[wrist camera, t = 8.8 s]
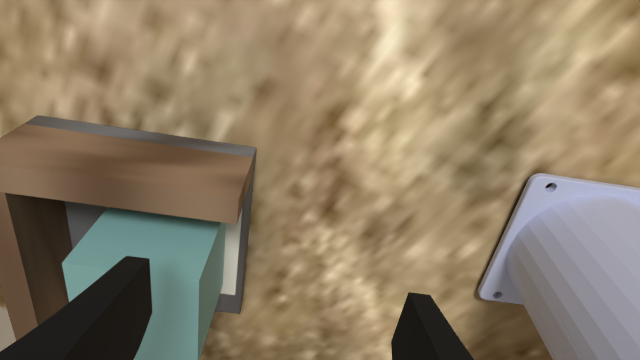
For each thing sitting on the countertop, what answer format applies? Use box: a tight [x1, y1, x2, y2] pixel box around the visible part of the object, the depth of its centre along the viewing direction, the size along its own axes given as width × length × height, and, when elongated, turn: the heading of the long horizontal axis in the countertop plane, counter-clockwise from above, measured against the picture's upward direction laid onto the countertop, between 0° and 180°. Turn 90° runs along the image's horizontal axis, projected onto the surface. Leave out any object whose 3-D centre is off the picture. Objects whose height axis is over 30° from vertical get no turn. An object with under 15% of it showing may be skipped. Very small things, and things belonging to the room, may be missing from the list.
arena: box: [0, 116, 256, 341], centre depth 20 cm, size 10×10×4 cm
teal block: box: [62, 207, 226, 360], centre depth 19 cm, size 5×5×5 cm
